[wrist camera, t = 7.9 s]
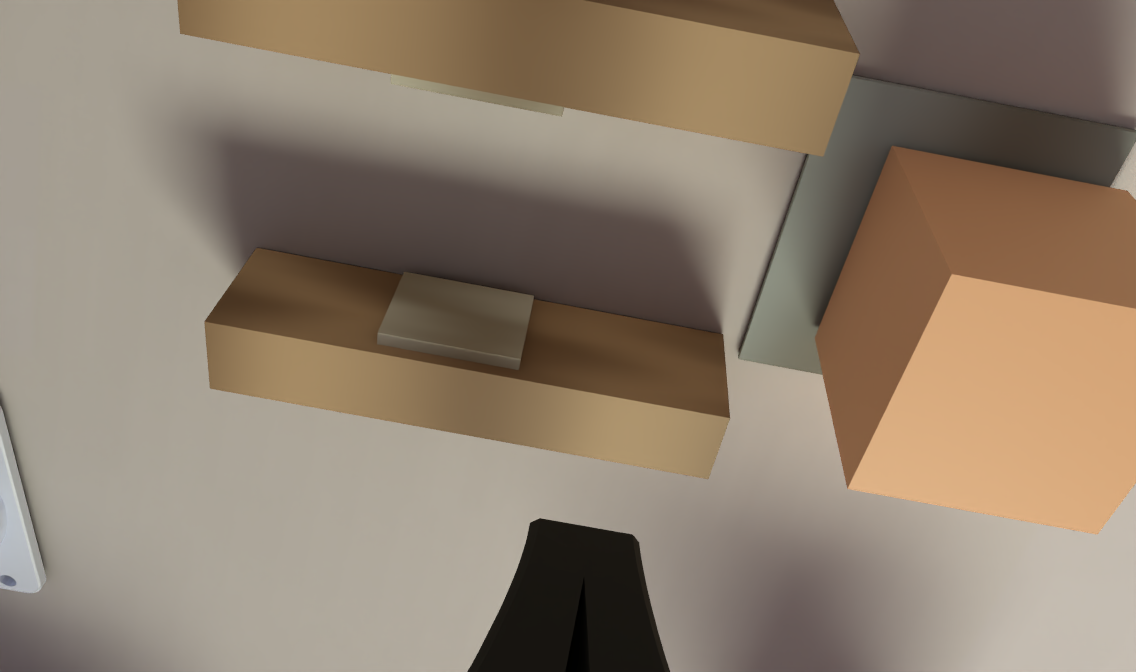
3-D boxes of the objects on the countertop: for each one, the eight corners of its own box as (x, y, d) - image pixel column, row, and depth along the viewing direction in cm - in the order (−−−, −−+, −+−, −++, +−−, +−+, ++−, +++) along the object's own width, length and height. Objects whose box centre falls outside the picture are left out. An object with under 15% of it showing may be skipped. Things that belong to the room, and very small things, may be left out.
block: (814, 338, 21) (847, 488, 17) (891, 145, 18) (951, 273, 15) (1019, 376, 21) (1097, 534, 17) (1127, 190, 19) (1249, 330, 15)
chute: (259, 310, 23) (210, 388, 20) (242, -118, 17) (171, -81, 15) (961, 440, 23) (996, 531, 21) (1172, 65, 17) (1254, 130, 15)
